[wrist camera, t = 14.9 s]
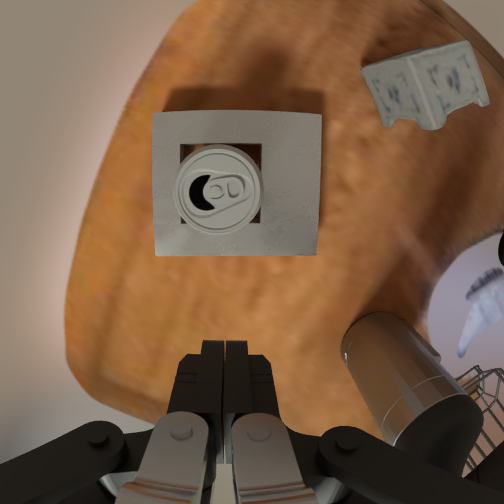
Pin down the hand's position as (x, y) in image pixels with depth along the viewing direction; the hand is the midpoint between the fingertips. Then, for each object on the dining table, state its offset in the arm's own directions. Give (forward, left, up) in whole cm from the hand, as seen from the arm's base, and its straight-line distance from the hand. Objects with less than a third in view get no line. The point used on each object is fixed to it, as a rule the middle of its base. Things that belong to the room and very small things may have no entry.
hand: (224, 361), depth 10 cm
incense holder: (-20, -17, -24) cm, 35 cm away
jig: (-1, -5, -23) cm, 24 cm away
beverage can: (+1, -5, -24) cm, 24 cm away
